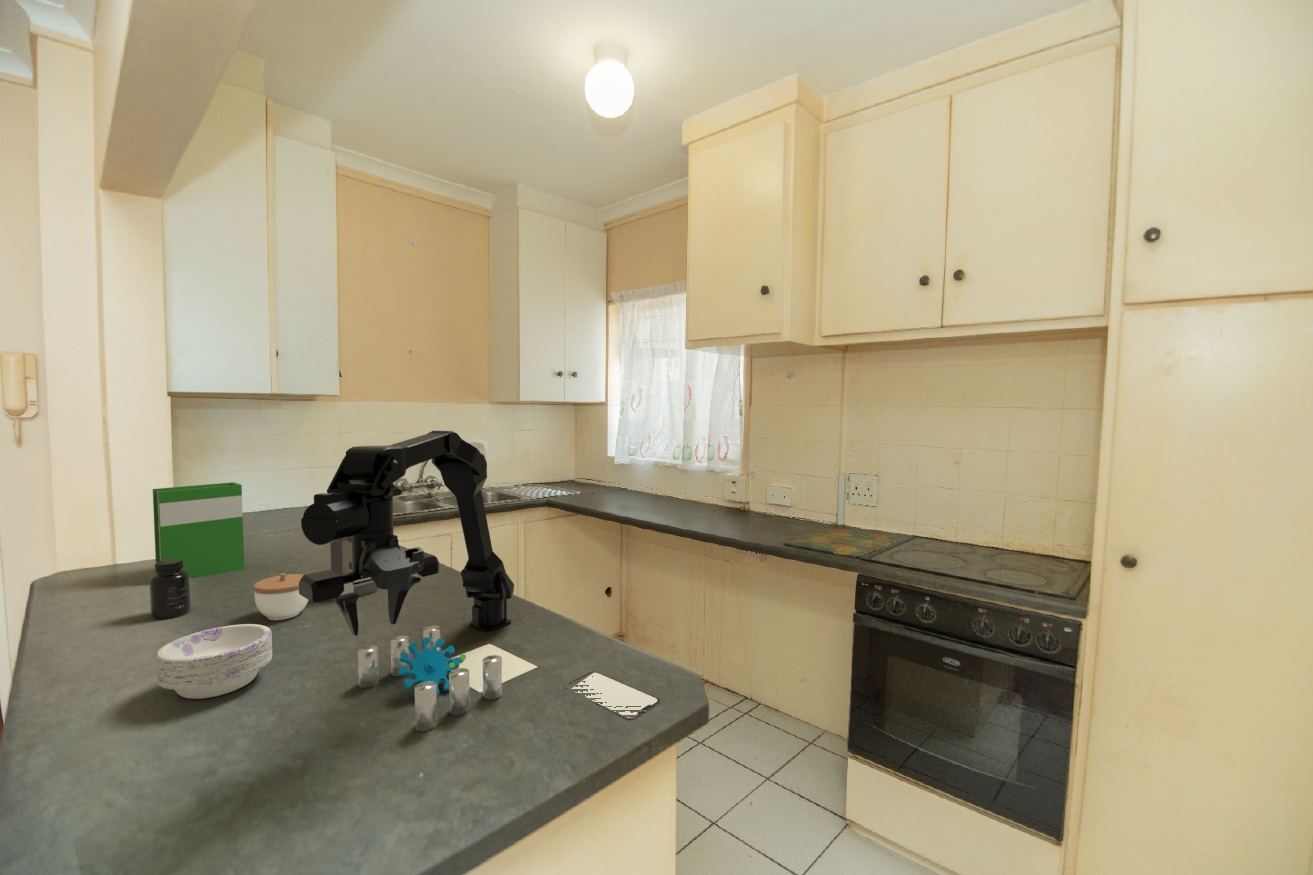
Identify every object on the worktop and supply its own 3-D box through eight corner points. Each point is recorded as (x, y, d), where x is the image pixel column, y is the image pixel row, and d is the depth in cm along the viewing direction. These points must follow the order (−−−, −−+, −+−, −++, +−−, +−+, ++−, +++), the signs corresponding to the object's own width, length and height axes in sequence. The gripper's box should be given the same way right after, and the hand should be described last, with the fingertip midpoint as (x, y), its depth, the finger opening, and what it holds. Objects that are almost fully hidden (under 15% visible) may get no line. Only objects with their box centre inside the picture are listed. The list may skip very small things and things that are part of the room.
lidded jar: (265, 628, 118) (263, 584, 117) (247, 616, 124) (245, 574, 124) (320, 613, 126) (319, 572, 126) (300, 603, 133) (299, 564, 132)
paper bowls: (211, 663, 102) (209, 620, 102) (293, 665, 102) (291, 622, 101) (130, 708, 87) (128, 658, 86) (226, 711, 87) (224, 661, 86)
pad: (489, 644, 112) (489, 643, 112) (537, 667, 102) (537, 666, 102) (432, 665, 102) (432, 664, 102) (480, 693, 93) (480, 692, 93)
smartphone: (560, 689, 95) (630, 723, 85) (560, 686, 95) (630, 720, 85) (594, 672, 101) (662, 702, 91) (594, 669, 101) (662, 699, 91)
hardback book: (162, 583, 145) (158, 492, 144) (156, 578, 150) (152, 489, 148) (244, 568, 159) (241, 484, 158) (236, 563, 164) (233, 482, 162)
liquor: (383, 590, 142) (381, 472, 141) (347, 600, 135) (345, 476, 133) (363, 583, 147) (361, 470, 145) (327, 593, 140) (324, 473, 138)
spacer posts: (435, 655, 106) (435, 624, 106) (505, 694, 93) (505, 658, 92) (355, 684, 95) (354, 649, 95) (421, 733, 81) (421, 693, 81)
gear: (404, 699, 87) (396, 639, 93) (393, 715, 90) (386, 655, 96) (473, 686, 94) (462, 630, 100) (461, 701, 97) (451, 646, 103)
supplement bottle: (143, 617, 123) (141, 563, 122) (179, 606, 129) (177, 555, 129) (162, 622, 120) (160, 567, 120) (198, 611, 127) (196, 559, 126)
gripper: (327, 550, 73) (329, 666, 74) (457, 526, 87) (458, 624, 88) (296, 536, 80) (298, 643, 81) (421, 517, 95) (422, 607, 95)
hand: (374, 629), depth 86 cm, fingers open, 5 cm apart
